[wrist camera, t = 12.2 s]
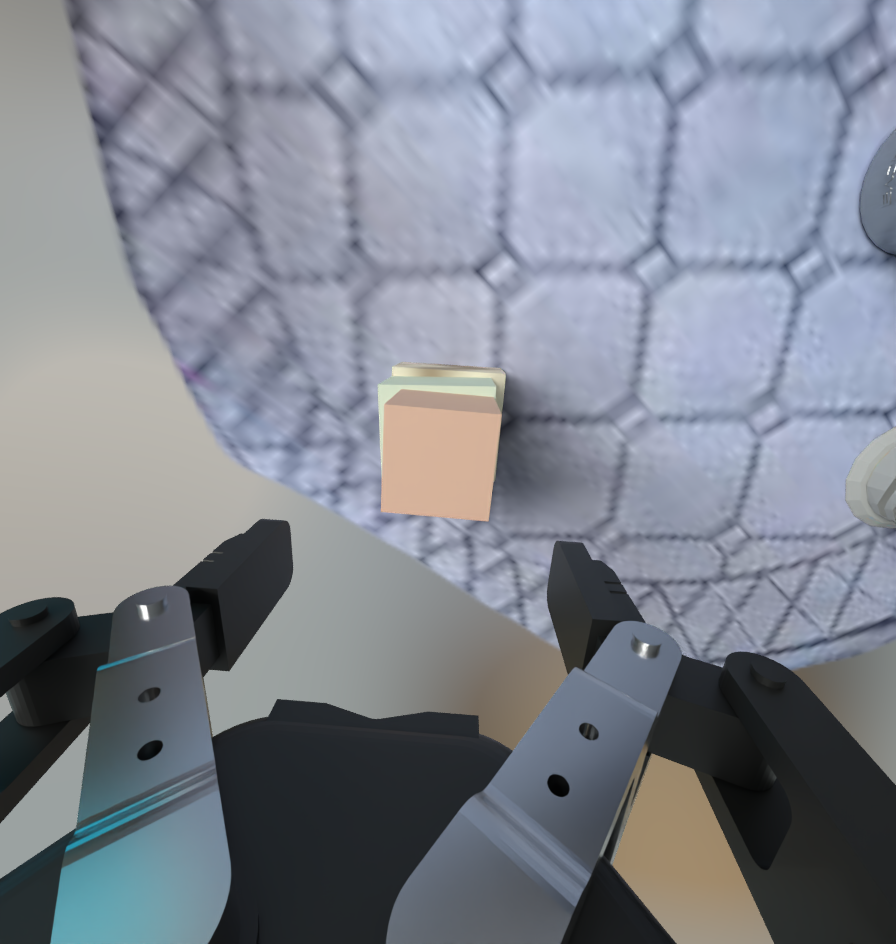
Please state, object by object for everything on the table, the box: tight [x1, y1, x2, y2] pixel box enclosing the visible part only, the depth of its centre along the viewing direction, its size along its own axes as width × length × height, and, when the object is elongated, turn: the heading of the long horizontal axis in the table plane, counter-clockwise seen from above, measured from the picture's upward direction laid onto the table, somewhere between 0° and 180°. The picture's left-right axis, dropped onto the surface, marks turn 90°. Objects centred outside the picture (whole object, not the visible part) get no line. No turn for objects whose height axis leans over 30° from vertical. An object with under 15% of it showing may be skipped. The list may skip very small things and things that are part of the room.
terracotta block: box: [381, 389, 502, 521], centre depth 23 cm, size 6×6×6 cm
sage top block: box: [378, 376, 496, 472], centre depth 28 cm, size 7×7×5 cm
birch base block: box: [392, 362, 506, 481], centre depth 32 cm, size 8×8×5 cm
